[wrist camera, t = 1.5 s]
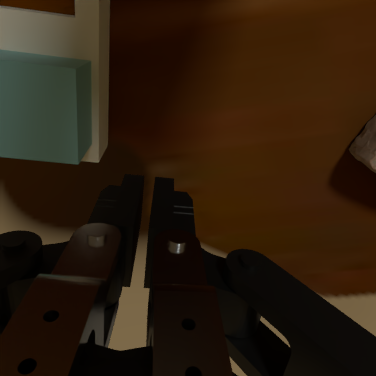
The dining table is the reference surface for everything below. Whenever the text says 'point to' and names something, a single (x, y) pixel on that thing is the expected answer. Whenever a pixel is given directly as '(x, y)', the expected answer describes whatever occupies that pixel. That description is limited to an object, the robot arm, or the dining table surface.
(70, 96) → the block
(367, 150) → the brick
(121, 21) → the dining table surface
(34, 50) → the tray
